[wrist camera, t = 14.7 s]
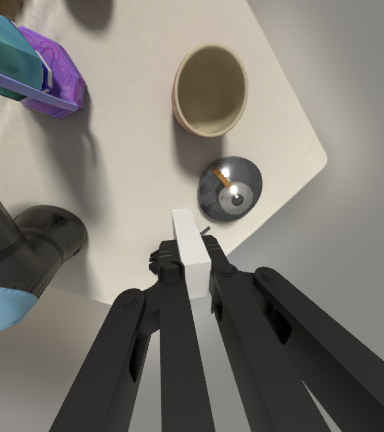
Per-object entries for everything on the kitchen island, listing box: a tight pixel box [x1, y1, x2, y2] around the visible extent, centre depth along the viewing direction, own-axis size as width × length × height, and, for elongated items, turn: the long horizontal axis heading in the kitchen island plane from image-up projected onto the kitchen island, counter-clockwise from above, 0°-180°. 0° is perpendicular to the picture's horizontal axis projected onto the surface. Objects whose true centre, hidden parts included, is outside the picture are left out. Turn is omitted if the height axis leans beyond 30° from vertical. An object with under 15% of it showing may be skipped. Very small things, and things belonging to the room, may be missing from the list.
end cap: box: [149, 249, 160, 275], centre depth 51 cm, size 10×7×7 cm
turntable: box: [198, 156, 262, 221], centre depth 43 cm, size 18×18×7 cm
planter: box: [172, 43, 248, 138], centre depth 31 cm, size 12×12×11 cm
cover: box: [215, 179, 253, 215], centre depth 42 cm, size 8×8×5 cm
